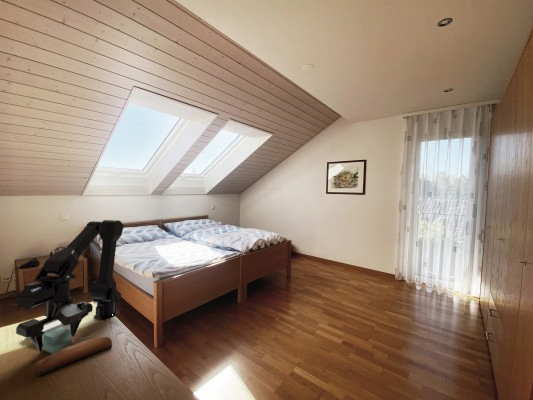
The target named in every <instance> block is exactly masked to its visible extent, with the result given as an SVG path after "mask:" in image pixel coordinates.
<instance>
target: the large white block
mask: <svg viewBox="0 0 533 400" xmlns="http://www.w3.org/2000/svg"><path fill="white" fill-rule="evenodd" d="M60 327H63V328H66V329H69V330H70V324H69V325H62V323H61V322H60V321H59V320H57V321H55V322H52V323H50V324H47V325H44V329H43V330H42V331H43V332H44V334H46V333H48V332H51V331H53V330H55V329H58V328H60ZM44 334H43V335H42V344H43V340H44ZM28 338H29V339H30V337H28Z"/></svg>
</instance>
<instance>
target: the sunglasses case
mask: <svg viewBox="0 0 533 400" xmlns="http://www.w3.org/2000/svg"><path fill="white" fill-rule="evenodd" d="M112 347H113V341H112V339H111V337H109V336H99V337H93V338H90V339H86V340H83V341H81V342H78V343H74V344H71V345H70V346H68V347H66V348H64V349H61V350H59V351H57V352H55V353H53V354H52V353H51V354H50V355H47V356H46V357H44V358H42V359H40V360H38V361H37V362H36V363H35V366H36V371H37V374H38V377H40V376H43V375H45V374H48V373H51V372H53V371H55V370H56V369H59V368H61V367H63V366H66V365H67V364H69V363H72V362H75V361H78V360H81V359H83V358H85V357H88V356H91V355H93V354H95V353H98V352H100V351H103V350H106V349H108V348H112Z"/></svg>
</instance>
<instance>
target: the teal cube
mask: <svg viewBox="0 0 533 400" xmlns="http://www.w3.org/2000/svg"><path fill="white" fill-rule="evenodd" d="M71 340H72V336H71V330H69V329H66V328H63V327H60V328H58V329H55V330H53V331H51V332H48V333H46V334H44V340H43V343H42V351H45V352H48V353H51V355H52V354H54V353H56V352H58V351H59V350H61V349H64V348H66V347H68V346H72V343H71Z"/></svg>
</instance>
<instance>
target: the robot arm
mask: <svg viewBox="0 0 533 400" xmlns="http://www.w3.org/2000/svg"><path fill="white" fill-rule="evenodd" d="M123 230H124V224H123V222H122V221H121V220H120V219H119V220H116V219H115V220H113V219H104V220H102V221H95V220H94V221H93V220H92V221H89V222H88V223H87V224H86V226H85V227H84V228H83V229H82V230H81V232H80V233H79V234H78V235H77V236H75V237H74V239H73V240H72V241H71V242H70V243H69V244H68V245H67V246H66V247H65V248H64V249H62V250H60V251H57V252H55V253H53V255H50V257H48V258H47V259H46V260H45V262H44V263H43V266H42V267H41V269H40V270H39V272H38V274H37V275H36V276H35V278H34V280H33V281H34V282H33V283H27V284H25V285H23V289H22V290H21V291H19V293H18V295H17V297H16V303H17V305H18V307H20V308H21V309H23V310H30V309H32V308H34V307H35V308H36V307H38V306H39V305H42V304H46V311H44V312H43V316H44V317H45V318H42V319H40V320H38V319H35V318H32V319H29V320H26V321H23V322H20V323H18V325H17V326H16V328H15V334H16V335H19V336H21V337H24V338H29V337H30V338H29V339H30V340H31V341H32V343H33V345H34V347H35V348H36V349H37V351H38V353H39V352H40V353H41V352H42V351H43V343H42V335H43V334H44V332H43V331H42V330H43V329H44V325H47V324H50V323H52V322H55V321H57V320H59V321H60V322H61V323H62V325H69V324H70V330H71V337H75V336H76V333H77V332H78V328H79V326H80V324H81V322H82V320H83V319H84V318H85V317H87V316H89V314H90V313H92V312H93V309H94V308H93V304H92V303H91V302H87V301H79V302H77V303H74V298H73V296H72V297H71V280H73V279H76V278H77V275H76V274H74V273H73V272H74V270H75V269H76V268H77V266H78V265H79V263H80V257H81V255H82V254H83V253H84V251H86V249H87V248H88V247H89V246H90V245H91V243H93V241H94V240H95V239H96V238H97V236H99V238H100V240H101V241H102V243H101V250H100V251H101V252H100V259H99V267H98V275H97V276H98V277H97V278H96V279H95V281H93V282H91V283H90V290H89V294H90V298H91V299H92V302H93V303H96V307H95V314H94V315H93V318H95V319H99V320H101V321H102V320H103V321H106V320H108V319H110V318H112V317H114V316H116V315H118V314H119V311H117V303H118V302H119V300H121V297H122V293H121V292H120V291H118V289H117V282H116V280H115V278H114V267H115V259H116V250H117V242H118V240H120V238H121V237H122V235H123ZM112 314H113V315H114V316H112Z"/></svg>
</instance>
